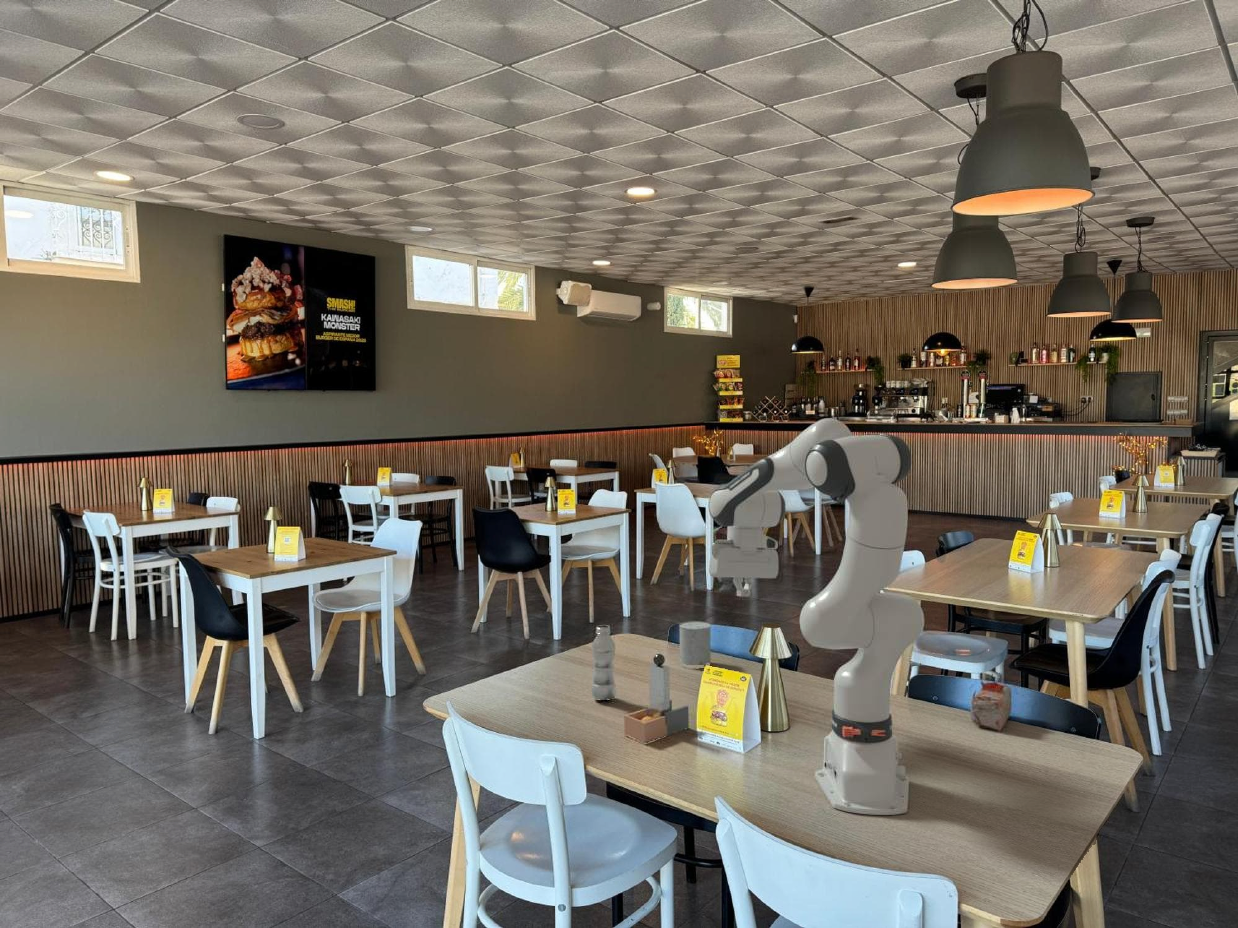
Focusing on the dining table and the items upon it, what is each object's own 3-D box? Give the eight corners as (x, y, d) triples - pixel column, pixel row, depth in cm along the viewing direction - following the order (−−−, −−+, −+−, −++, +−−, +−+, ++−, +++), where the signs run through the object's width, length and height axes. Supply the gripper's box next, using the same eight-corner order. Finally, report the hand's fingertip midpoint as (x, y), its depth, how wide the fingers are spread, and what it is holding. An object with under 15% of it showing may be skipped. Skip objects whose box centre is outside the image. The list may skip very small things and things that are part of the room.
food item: (1004, 734, 196) (1005, 693, 195) (968, 727, 200) (968, 687, 200) (1013, 716, 207) (1013, 677, 207) (979, 710, 211) (979, 672, 211)
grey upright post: (656, 714, 203) (656, 650, 202) (671, 719, 199) (670, 654, 198) (646, 717, 201) (645, 653, 200) (660, 723, 197) (660, 657, 196)
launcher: (669, 720, 207) (669, 699, 207) (688, 728, 202) (688, 706, 202) (647, 728, 202) (647, 706, 202) (666, 736, 197) (666, 713, 197)
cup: (646, 728, 202) (646, 708, 202) (667, 736, 197) (667, 715, 197) (624, 735, 198) (624, 715, 197) (644, 744, 192) (644, 723, 192)
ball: (660, 720, 196) (652, 736, 195) (657, 722, 200) (650, 737, 199) (645, 712, 197) (637, 728, 195) (643, 713, 200) (635, 729, 199)
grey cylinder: (678, 668, 250) (677, 628, 250) (681, 659, 260) (680, 620, 259) (709, 669, 249) (709, 629, 248) (711, 660, 258) (711, 621, 257)
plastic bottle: (604, 694, 228) (603, 622, 227) (621, 699, 223) (620, 626, 222) (586, 699, 224) (585, 626, 222) (604, 705, 219) (602, 631, 218)
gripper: (720, 539, 200) (719, 596, 199) (782, 542, 211) (781, 597, 210) (704, 538, 205) (702, 595, 204) (765, 542, 216) (764, 595, 215)
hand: (743, 596), depth 207 cm, fingers closed
